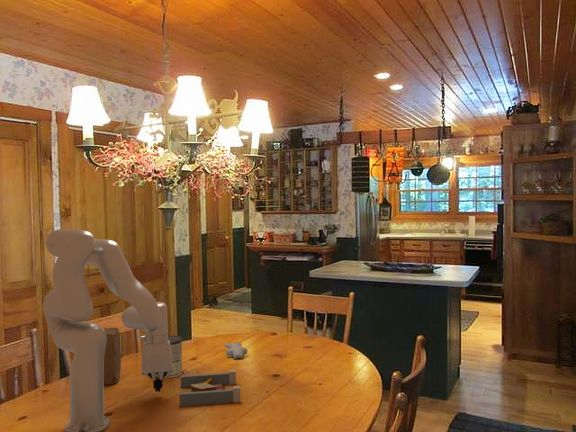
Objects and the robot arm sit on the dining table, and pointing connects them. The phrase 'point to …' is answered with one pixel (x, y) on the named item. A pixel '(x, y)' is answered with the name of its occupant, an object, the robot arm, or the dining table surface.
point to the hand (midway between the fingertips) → (158, 390)
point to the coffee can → (175, 356)
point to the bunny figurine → (235, 350)
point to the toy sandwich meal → (206, 386)
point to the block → (112, 356)
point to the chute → (210, 396)
